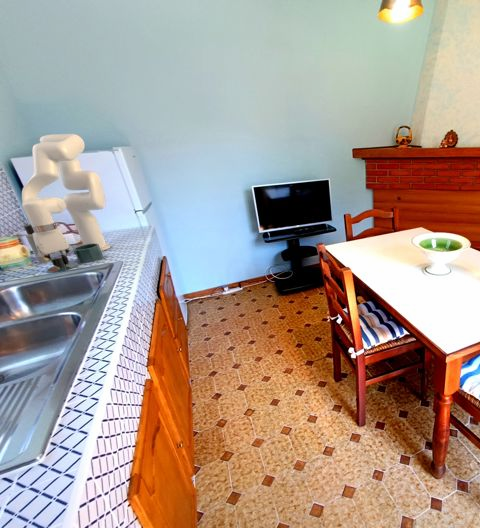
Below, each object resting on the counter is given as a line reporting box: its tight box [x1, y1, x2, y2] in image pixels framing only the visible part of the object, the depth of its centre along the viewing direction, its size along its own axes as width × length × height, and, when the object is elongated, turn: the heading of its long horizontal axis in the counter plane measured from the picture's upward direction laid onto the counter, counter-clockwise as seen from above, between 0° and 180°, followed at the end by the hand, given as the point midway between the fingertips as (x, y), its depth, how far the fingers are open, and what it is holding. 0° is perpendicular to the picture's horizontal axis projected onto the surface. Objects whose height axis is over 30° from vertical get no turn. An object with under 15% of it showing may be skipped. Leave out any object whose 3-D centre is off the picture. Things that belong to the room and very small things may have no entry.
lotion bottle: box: [23, 223, 52, 264], centre depth 149 cm, size 6×6×20 cm
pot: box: [72, 244, 105, 264], centre depth 151 cm, size 10×10×7 cm
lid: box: [46, 256, 79, 274], centre depth 142 cm, size 11×11×6 cm
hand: (62, 265), depth 143 cm, fingers closed on lid, 2 cm apart
